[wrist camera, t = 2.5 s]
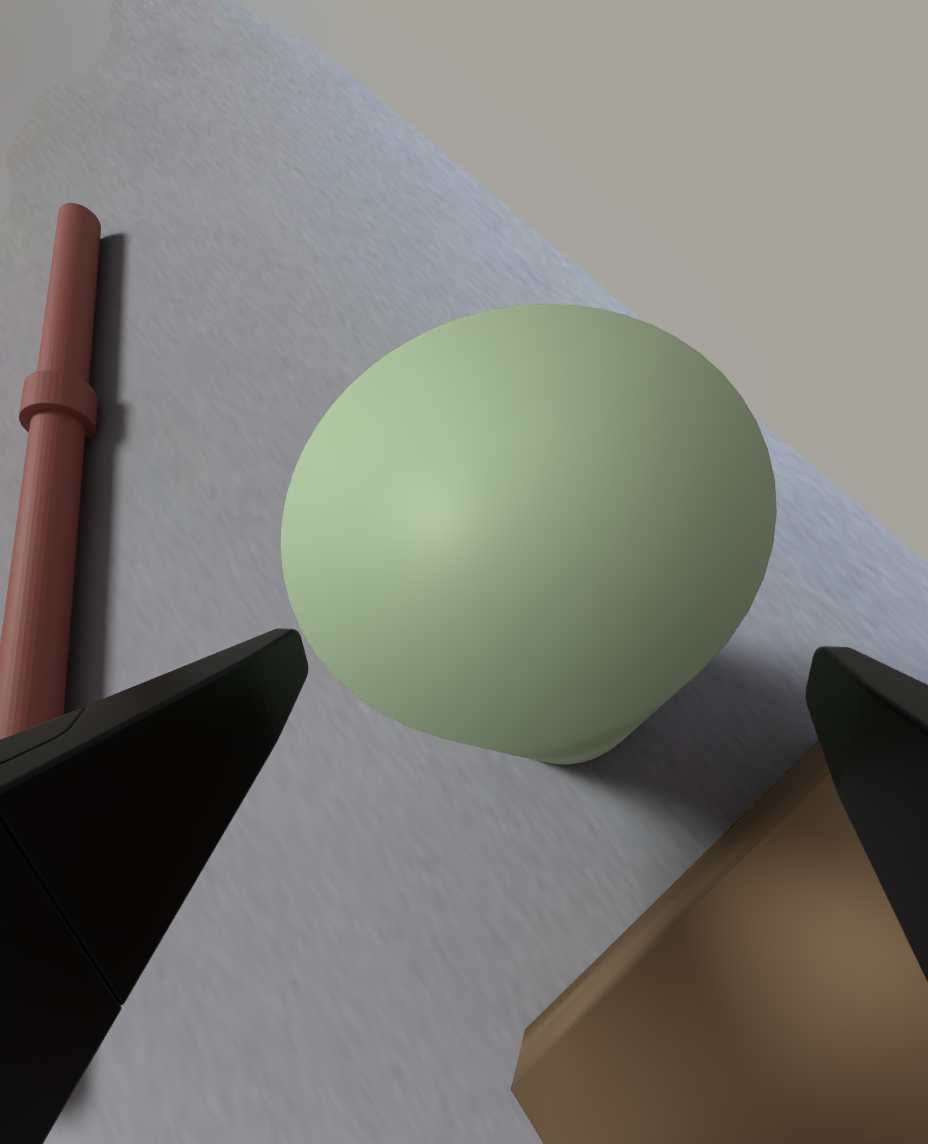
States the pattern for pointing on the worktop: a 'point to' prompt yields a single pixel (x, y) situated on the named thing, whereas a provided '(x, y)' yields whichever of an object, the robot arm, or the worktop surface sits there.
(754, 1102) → the walnut base
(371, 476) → the green cylinder
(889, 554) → the worktop surface
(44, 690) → the red collared rod
